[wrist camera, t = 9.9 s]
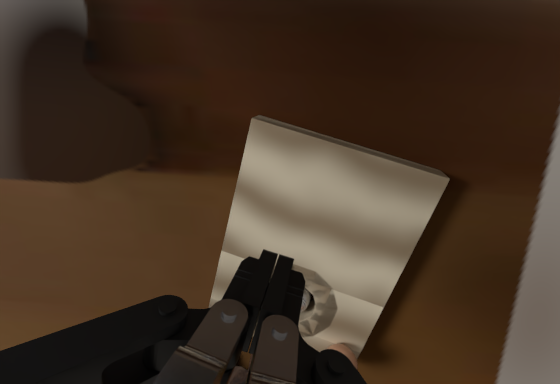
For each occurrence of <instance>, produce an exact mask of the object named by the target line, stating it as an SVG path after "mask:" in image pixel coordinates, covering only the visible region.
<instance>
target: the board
mask: <svg viewBox="0 0 560 384" xmlns="http://www.w3.org/2000/svg"><path fill="white" fill-rule="evenodd" d="M449 180H450V178H448V177H447V176H446V175H445V174H444V173H443V172H441V171H440V170H437V169H434V168H431V167H428V166H424V165H421V164H418V163H415V162H411V161H408V160H405V159H401V158H398V157H395V156H392V155H388V154H385V153H382V152H379V151H375V150H372V149H369V148H366V147H362V146H359V145H356V144H352V143H349V142H346V141H343V140H339V139H336V138H333V137H330V136H326V135H323V134H320V133H316V132H313V131H310V130H307V129H303V128H300V127H297V126H294V125H290V124H287V123H284V122H281V121H277V120H274V119H271V118H267V117H264V116H261V115H259V116H256V117H253V118H252V120H251V124H250V128H249V133H248V137H247V142H246V146H245V150H244V155H243V159H242V164H241V168H240V172H239V177H238V181H237V186H236V190H235V194H234V199H233V203H232V207H231V212H230V216H229V221H228V225H227V229H226V234H225V238H224V243H223V247H222V251H221V256H220V260H219V265H218V269H217V273H216V278H215V282H214V286H213V291H212V295H211V300H210V304H209V308H210V307H211V306H212V305H214V304H215V303H216V302H218V301H220V300H221V299H222V298H223V296H224V294H225V292H226V290H227V288H228V286H229V284H230V282H231V280H232V279H233V277H234V275H235V273H236V271H237V269H238V267H239V265H240V263H241V261H243V260H244V259H246V258H247V257H249V256H250V257H254V258H257V259H259V258H260V255H261V253H262V251H263V249H265V250H268V251H271V252H274V253H277V254H278V256H277V260H278V257H279V254H281V255H284V256H287V257H290V258H294V262H293V266H292V270H295V271H298V272H301V273H302V274H303V276H304V279H305V288H306V289H307V290H308V291H309V292H310V293H311V294H312V295H313V296H314V299H312V300H311V301H310V303H309V305H308V307H307V308H306V309H305V310H304V311H303V312H301V313H300V318H299V325H298V327H299V332H300V334H301V336H302V338H303V339H304V341H305V342H306V343H307V344H308V345H310V346H311V347H313V348H314V349H316V350H317V351H319V352H321V351H322V350H325V349H326V348H328V347H329V346H330V345H333V344H343V345H345V346H347V347H348V348H350V349H351V350H352V352H353V353H354V354H355V357H356V359H357V358H358V357H359V355H360V353H361V351H362V349H363V347H364V345H365V343H366V341H367V339H368V337H369V335H370V333H371V331H372V329H373V327H374V326H375V324H376V322H377V320H378V318H379V316H380V314H381V312H382V310H383V308H384V306H385V304H386V302H387V300H388V298H389V296H390V295H391V293H392V291H393V289H394V287H395V285H396V283H397V281H398V279H399V277H400V275H401V273H402V271H403V269H404V267H405V265H406V263H407V262H408V260H409V258H410V256H411V254H412V252H413V250H414V248H415V246H416V244H417V242H418V240H419V238H420V236H421V234H422V232H423V231H424V229H425V227H426V225H427V223H428V221H429V219H430V217H431V215H432V213H433V211H434V209H435V207H436V205H437V203H438V201H439V200H440V198H441V196H442V194H443V192H444V190H445V188H446V186H447V184H448V182H449ZM277 260H276V263H277ZM275 266H276V264H275ZM274 269H275V267H274ZM273 272H274V271H273ZM272 275H273V274H272ZM257 322H258V321H257ZM256 325H257V324H256ZM255 329H256V327H255ZM254 333H255V330H254ZM254 333H253V336H254ZM253 336H252V337H253Z"/></svg>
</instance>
